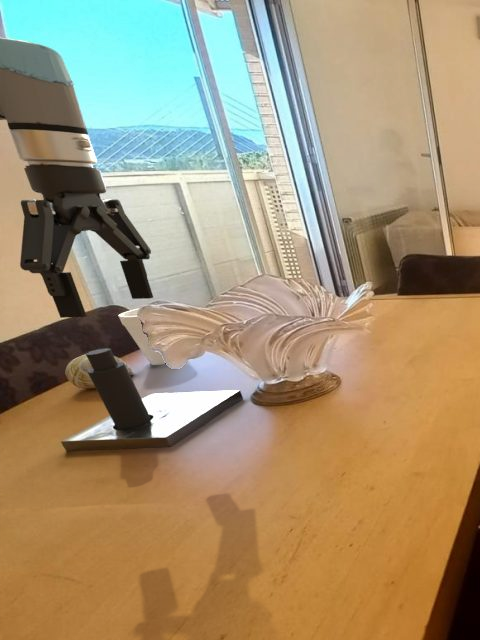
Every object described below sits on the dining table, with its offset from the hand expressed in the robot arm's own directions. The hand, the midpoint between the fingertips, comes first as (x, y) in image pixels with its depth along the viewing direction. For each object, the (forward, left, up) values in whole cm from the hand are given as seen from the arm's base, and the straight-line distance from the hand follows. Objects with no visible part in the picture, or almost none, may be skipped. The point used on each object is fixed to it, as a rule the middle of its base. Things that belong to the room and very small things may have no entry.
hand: (111, 307), depth 76 cm
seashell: (-36, +25, -24) cm, 50 cm away
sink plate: (-6, +5, -24) cm, 25 cm away
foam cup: (-33, +38, -24) cm, 56 cm away
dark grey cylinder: (-8, +2, -24) cm, 26 cm away
